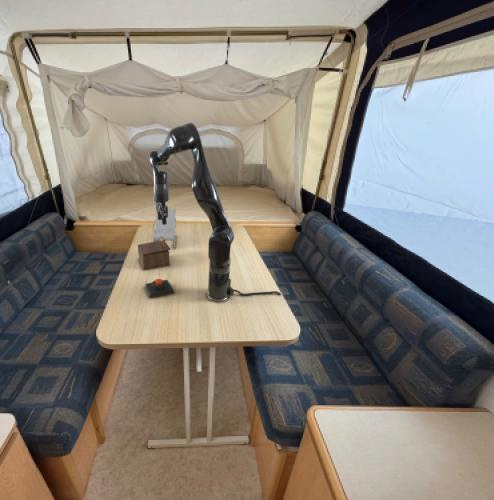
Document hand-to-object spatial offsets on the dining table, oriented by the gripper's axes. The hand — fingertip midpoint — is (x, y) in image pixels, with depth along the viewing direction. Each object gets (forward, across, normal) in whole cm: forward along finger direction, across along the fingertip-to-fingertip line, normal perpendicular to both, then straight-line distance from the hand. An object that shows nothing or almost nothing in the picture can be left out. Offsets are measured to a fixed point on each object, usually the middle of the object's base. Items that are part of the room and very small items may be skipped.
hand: (162, 222), depth 143 cm
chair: (+24, +26, -9) cm, 37 cm away
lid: (+15, 0, +5) cm, 16 cm away
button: (+20, -28, +11) cm, 36 cm away
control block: (+24, -28, +11) cm, 38 cm away
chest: (+24, 0, +6) cm, 25 cm away
